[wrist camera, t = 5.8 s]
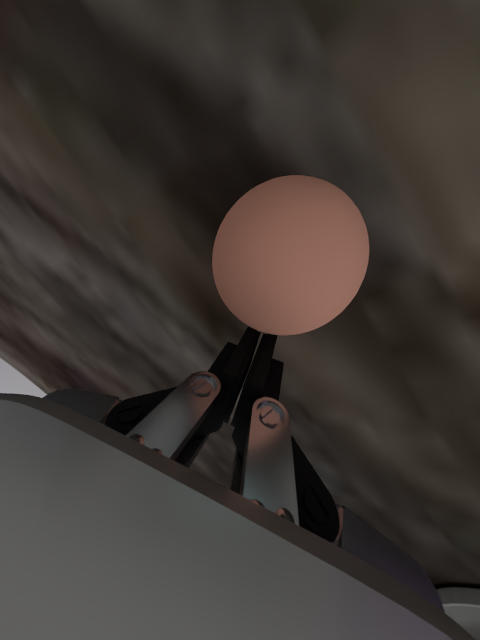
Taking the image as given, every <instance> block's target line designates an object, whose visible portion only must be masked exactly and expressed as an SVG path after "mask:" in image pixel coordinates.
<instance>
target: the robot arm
mask: <svg viewBox="0 0 480 640" xmlns="http://www.w3.org/2000/svg"><path fill="white" fill-rule="evenodd" d="M260 333H261V332H258V331H257V330H256V329H253V328H251V327H250V326H248V328H247V329H246V331H245V333H244V335H243V336H242V338H241V340H240V342H239V343H238V345H235V344H232V343H230V342H228V343H227V344H226V345H225V347H224V348H223V350H222V351H221V353H220V354H219V356H218V357H217V359H216V360H215V362H214V363H213V364H212V366H211V367H210V369H209V370H208V372H205V371H201V372H196V373H193V374H192V375H190V376H189V377H188V378H187V379H186V380H184V381H183V382H182V383H181V384H180V385H179V386H178V387H174V388H170V389H166V390H162V391H158V392H153V393H149V394H145V395H141V396H137V397H133V398H129V399H126V400H123V401H122V400H119V397H115V396H110V395H104V394H99V393H94V392H89V391H84V390H78V389H73V388H65V389H60V390H56V391H54V392H52V393H49V394H48V395H46V396H45V397H43V398H40V397H35V396H30V395H22V394H6V393H5V394H4V393H0V640H480V589H476V588H468V587H444V588H438V589H435V587H434V585H433V583H432V581H431V580H430V578H429V577H428V575H427V574H426V573H425V571H424V570H423V569H422V567H421V566H420V565H419V564H418V563H417V562H416V561H415V560H414V559H413V558H412V557H411V556H410V555H408V554H407V553H406V552H405V551H403V550H402V549H401V548H399V547H398V546H397V545H395V544H394V543H393V542H391V541H390V540H389V539H387V538H386V537H385V536H383V535H382V534H381V533H379V532H378V531H377V530H376V529H374V528H373V527H372V526H370V525H369V524H368V523H366V522H365V521H364V520H362V519H361V518H360V517H358V516H357V515H356V514H354V513H353V512H352V511H350V510H349V509H348V508H347V507H345V506H344V505H343V506H342V507H340V506H339V505H338V504H336V503H335V502H334V500H333V498H332V496H331V494H330V493H329V491H328V490H327V488H326V487H325V485H324V484H323V482H322V481H321V479H320V477H319V476H318V474H317V473H316V471H315V470H314V468H313V467H312V465H311V464H310V462H309V461H308V459H307V458H306V456H305V455H304V453H303V452H302V450H301V449H300V447H299V446H298V444H297V443H296V441H295V440H294V438H293V437H292V435H291V430H290V419H289V415H288V412H287V410H286V409H285V407H284V406H283V405H282V404H281V403H280V402H278V401H279V394H280V387H281V379H282V372H283V365H284V363H283V362H281V361H278V360H275V359H273V358H272V355H273V351H274V347H275V343H276V339H277V335H274V334H264V333H263V336H262V339H261V341H260V344H259V346H258V349H257V352H256V354H255V357H254V360H253V362H252V365H251V367H250V364H251V360H252V357H253V354H254V351H255V348H256V345H257V342H258V339H259V336H260ZM249 367H250V370H249V373H248V375H247V372H248V369H249ZM246 375H247V378H246V381H245V383H244V386H243V389H242V392H241V395H240V399H239V402H238V405H237V408H236V411H235V414H234V417H233V420H232V423H231V425H232V426H234V427H235V429H234V432H233V435H232V438H233V440H234V443H235V445H236V451H235V456H234V462H233V469H232V475H231V481H230V487H229V489H228V488H226V487H224V486H222V485H220V484H218V483H216V482H214V481H212V480H210V479H208V478H206V477H205V476H203V475H201V474H199V473H197V472H195V471H193V470H191V469H189V467H190V465H191V464H192V462H193V460H194V459H195V457H196V456H197V454H198V453H199V451H200V449H201V448H202V446H203V445H204V443H205V442H206V440H207V439H208V437H209V434H210V433H213V432H215V431H218V430H219V428H221V426H222V424H223V422H225V423H228V421H229V418H230V416H231V413H232V411H233V408H234V406H235V403H236V400H237V398H238V395H239V393H240V390H241V388H242V385H243V382H244V380H245V377H246Z"/></svg>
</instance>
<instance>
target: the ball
mask: <svg viewBox="0 0 480 640" xmlns="http://www.w3.org/2000/svg"><path fill="white" fill-rule="evenodd" d="M368 260H369V239H368V233H367V228H366V225H365V222H364V220H363V217H362V215H361V213H360V211H359V209H358V208H357V207H356V205H355V204H354V203H353V201H352V200H351V199H350V197H348V196H347V195H346V194H345V193H344V192H343V191H342V190H341V189H339V188H338V187H336V186H335V185H333V184H331V183H329V182H327V181H325V180H321V179H318V178H315V177H310V176H304V175H290V176H282V177H278V178H274V179H271V180H269V181H266V182H264V183H262V184H260V185H257V186H256V187H254V188H253V189H251V190H250V191H248V192H247V193H246V194H244V195H243V196H242V197H241V198H240V199H239V200H238V201H237V202H236V203H235V204H234V205H233V207H232V208H231V209H230V210H229V212H228V213H227V214H226V216H225V218H224V220H223V221H222V223H221V225H220V227H219V230H218V232H217V235H216V239H215V242H214V247H213V256H212V268H213V276H214V280H215V284H216V287H217V290H218V292H219V295H220V297H221V298H222V300H223V302H224V303H225V305H226V306H227V308H228V309H229V310H230V311H231V312H232V314H234V315H235V316H236V317H237V318H238V319H239V320H240V321H242V322H243V323H245V324H246V325H248V326H250V327H251V328H253V329H256V330H258V331H261V332H264V333H268V334H274V335H296V334H301V333H305V332H309V331H311V330H314V329H316V328H319V327H321V326H323V325H324V324H326V323H328V322H330V321H331V320H332V319H334V318H335V317H336V316H337V315H339V314H340V313H341V312H342V311H343V310H344V309H345V308H346V307H347V306H348V304H349V303H350V302H351V301H352V299H353V298H354V296H355V295H356V294H357V292H358V290H359V288H360V286H361V283H362V281H363V279H364V277H365V273H366V269H367V265H368Z"/></svg>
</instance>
